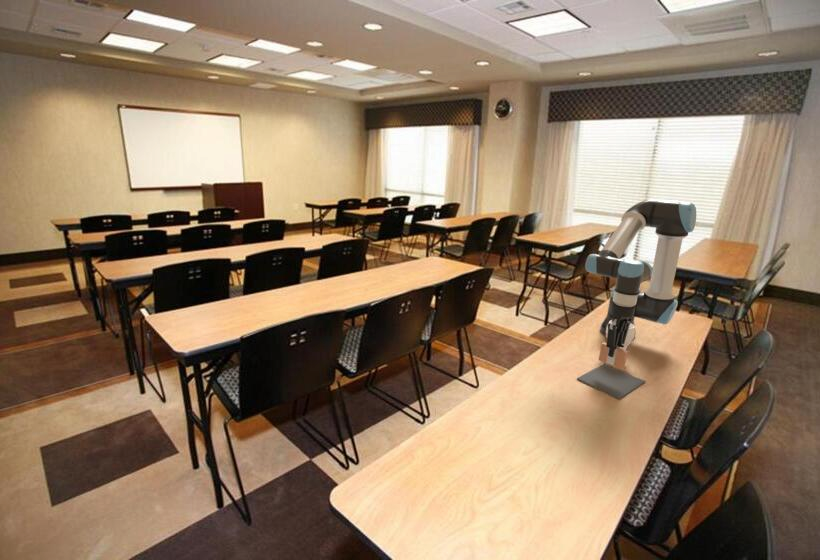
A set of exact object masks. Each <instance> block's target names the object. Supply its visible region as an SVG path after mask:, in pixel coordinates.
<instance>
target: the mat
mask: <svg viewBox="0 0 820 560" xmlns="http://www.w3.org/2000/svg"><path fill="white" fill-rule="evenodd" d="M576 380H577V381H579V382H581V383H583V384H585V385H587V386H590V387H592V388H594V389H595V390H597V391H600V392H602V393H604V394H607V395H609V396H611V397H612V398H615V399H617V400H621V399H622V398H624V397H625V396H627V395H629V394H630V393H631V392H633V391H634V390H636V389H638V388H639V387H640V386H642V385H644V384H646V380H644V379H642V378H640V377H637V376H635V375H632V374H630V373H627V372H625V371H623V370H621V369H618V368H616V367H614V366H611V365H609V364H607V363H603V364H601V365H598V366H597V367H595V368H593V369H592V370H589V371H588V372H586V373H584V374H582V375H579V376H578V377H577V378H576Z"/></svg>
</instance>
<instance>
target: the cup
mask: <svg viewBox="0 0 820 560" xmlns="http://www.w3.org/2000/svg"><path fill="white" fill-rule="evenodd" d="M609 323H610V324H612V320H610V321H609ZM609 323H608V324H609ZM635 331H636V325H635V326H634V325H633V324H631V323H630V325H629V329H628V332H627V336H626V339H625V343H624V344H622V345H624V347H623V348H622V347H620V349H623V350H625V351H627V349H628V346H630V344H631V343H632V342H633V340H634V338H635V337H634V335H635V336H636V334H635ZM607 335H608V325H607V328H606V334H605V337H606V338H607Z"/></svg>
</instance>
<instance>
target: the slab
mask: <svg viewBox="0 0 820 560" xmlns="http://www.w3.org/2000/svg"><path fill="white" fill-rule="evenodd" d="M606 344H607V342H602V343H601V345H600V350H599V356H598V361H600V362H602V363H603V364H606V365H609V366H611V367H614V368H616V369H618V370H621V371H623V370H625V367H626V363H627V357H628V352H629V351H627V350H626V351H625V350H623V349H620V348H616V349H617V354H616V359H615V364H614V365H611V364H608V363H606V361H607V356H608V351H609V347H606Z"/></svg>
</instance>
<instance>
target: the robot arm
mask: <svg viewBox="0 0 820 560" xmlns="http://www.w3.org/2000/svg"><path fill="white" fill-rule="evenodd" d="M696 223H697V207H696V205H695V204H694V203H692V202H687V201H682V200H671V199H669V200H667V199H657V198H651V199H645V200H642V201H639V202H638V203H635V204H634V205H632V206H631V207H629V208H628V209H627V210H626V211H625V212H624V213H623V215H622V216H621V220H620V223H619V225H618V226H617V228H616V229H615V230H614V231H613V233H612V234H611V236H610V237H609V239H608V240H607V242H606V243H605V245H604V246H603V247H602V249H601V250H600V251H599V253H598V254H597V253H591V254H589V255H588V256H587V258H586V259H585V260H586V261H585V266H584V267H585V271H586V272H587V273H590V274H595V275H596V276H602V277H603V276H604V277H606V278H607V277H608V278H613V279H616V280H615V281H616V282H615V285H614V287H613V288H612V290H611V294H610V296H609V297H610V298H609V303H608V307H607V309H608V310H607V313H606V316H605V318H604V320H603V321H602V323H601V324H600V329H599V330H600V332H601V333H602V334H604V335H606V328H607V325H608V335H607V337H606V343H607V344H606V347H609V351H608V356H607V361H606V363H605V364H607V363H608V364H607V365H609V364H611V365H614V364H615V359H616V354H617V349H616V348H620V347H622V348H623V347H624V345H622V344H624V343H625V339H626V336H627V332H628V329H629V325H630V323H631V324H633V325H634V326H635V327H636V325H635V318H639V319H642V320H645V321H648V322H653V323H655V324H661V325H667V324H668V323H670V321H671V320H672V318H673V316H674V314H675V312H676V311H677V308H678V304H679V301H678V300H677V299H675V294H674V293H673V291H672V290H673V286H674V282H675V276H676V271H677V267H678V262H679V257H680V253H681V249H682V243H683V240H684V239H685V238H687V237H688V235H689V233H692V232H693V231H694V229H695V226H696ZM645 227H649V228H655V234H656V236H658V239H657V244H656V249H655V254H654V259H653V265H651V264H650V263H649V262H647V261H645V260H635V259H622V258H621V257H622V256H623V254H624V253H625V252H626V250H627V248H629V245H630V244H631V243H632V241H633V240H634V238H635V237H636V235H637V234H638V233H639V232H640V231H642V230H643V229H645ZM649 279H650V281H649V286H648V288H646V289H645V290H644V291H643V292H641V288H640V286H641V284H642V283H645V282H646V281H648V280H649ZM610 320H612V324H610V323H609V321H610ZM608 323H609V324H608ZM636 333H637V331H636V330H635V335H634V338H635V337H636ZM611 365H610V366H611Z"/></svg>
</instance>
